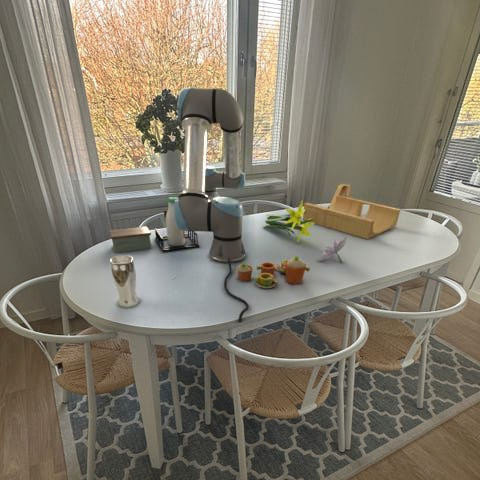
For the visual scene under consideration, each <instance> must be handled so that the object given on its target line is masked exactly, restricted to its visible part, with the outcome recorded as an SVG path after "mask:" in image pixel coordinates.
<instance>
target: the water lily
mask: <svg viewBox="0 0 480 480" xmlns="http://www.w3.org/2000/svg"><path fill="white" fill-rule="evenodd" d="M347 238H348V235H346V236H345V237H344V238H343V239H339V241H338V240H337V239H334V241H333V246H325V247H324V249H322V251H323V252H322V254H323V255H321V256H320V257H321V259H319V262H322V261H325V260H327V259H330V258H331V257H332V256H335V255H336V256H337V257H338V260H339V262H340V263H343V260H342V258H341V256H340V254H339V253H338V252H339V251H341V250H342V249H343V248H344V247H345V245H346V244H347V242H348V241H347Z"/></svg>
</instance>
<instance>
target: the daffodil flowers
mask: <svg viewBox="0 0 480 480" xmlns="http://www.w3.org/2000/svg"><path fill="white" fill-rule="evenodd" d="M303 201H304V200H301V201H300V203H299V205H298V207H297V210H296V211H295V210H293V209H291V208H285V210H286V212H287V213H286V214H266V215H265V216H266V219H265V220H264V222H265V224H267V225H264V226H263V225H262V227H263V229H279V230H281V231H285V232H287V233H288V235H289V237H290V238H291V233H292V234H294V235H296V233H295V232H294V231H293V230H295V231H298V233H297V243H299V241H300V239H301V236H302V235H304V236H305V237H311V232H310V230H308V228H309V227H311V226H313V225H315V224H316V223H315V222H313V223H312V222H310V221H312V220H313V219H309V220H307V221H306V220H303V221H302V217H303V214H304V213H306V212H305V209H304V202H303Z"/></svg>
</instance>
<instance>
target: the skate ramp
mask: <svg viewBox="0 0 480 480" xmlns="http://www.w3.org/2000/svg"><path fill="white" fill-rule="evenodd" d="M351 185H352V182H348V183H347V181H344V182H343V180H341V181H340V184H339V185H338V186H337V188H336V190H335V192H334V195H333V197H332V200H331V201H330V204H329V205H328V206H327V205H324V206H322V205H320V204H319V205H318V204H316V203H314V202H312V201H309V200H308V199H305V200H303V201H304V202H303V210H304V209H305V212H306V213H304V214H303V215H302V220H303V221H307V220H309V219H313V220H312V221H310V222H309V223H313V222H315V223H314V224H316V225H319V226H322V227H326V228H329V229H332V230H335V231H339V232H343V233H346V234H349V235H352V236H356V237H359V238H362V239H365V240H369V239H372V238H374V237H376V236H377V235H380V234H381V233H384V232H386V231H388V230H391V229H393V228H395V227H397V225H398V220H399V217H400V214H401V213H400V212H401V208H402V205H399V208H398V207H397V205H395V206H393V207H392V205H393V203H390V205H389V204H388V202H387V201H385V204H383V202H384V201H383V200H382V201H380V202H379V200H378V199H376V203H375V202H374V200H375V199H373V198H372V199H370V200H369V199H368V200H365V198H366V197H364V196H363V198H362V197H361V198H360V197H359V198H358V196H357V195H354V197H350V195H351V187H352V186H351ZM310 202H311V203H310ZM364 204H365V205H369V207H368V210H367V212H366V215H364V214H362V213H363V207H364ZM388 205H389V206H388ZM326 206H327V207H326Z"/></svg>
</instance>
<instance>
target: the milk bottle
mask: <svg viewBox="0 0 480 480" xmlns="http://www.w3.org/2000/svg"><path fill="white" fill-rule="evenodd" d="M175 200H179V196H178V197H177V196H169V197H167V204H168V206H169V208H168V207H167V209H168V211H167V214H166V217H165V224H166V225H165V226H166V236H167V237H168V240H167V243H168V245H170V246H171V247H173V246H181V245H186V238H185V233H186V231H183V230H180V229H179V228H178V226H177V224H176V220H175V215H174V201H175Z"/></svg>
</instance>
